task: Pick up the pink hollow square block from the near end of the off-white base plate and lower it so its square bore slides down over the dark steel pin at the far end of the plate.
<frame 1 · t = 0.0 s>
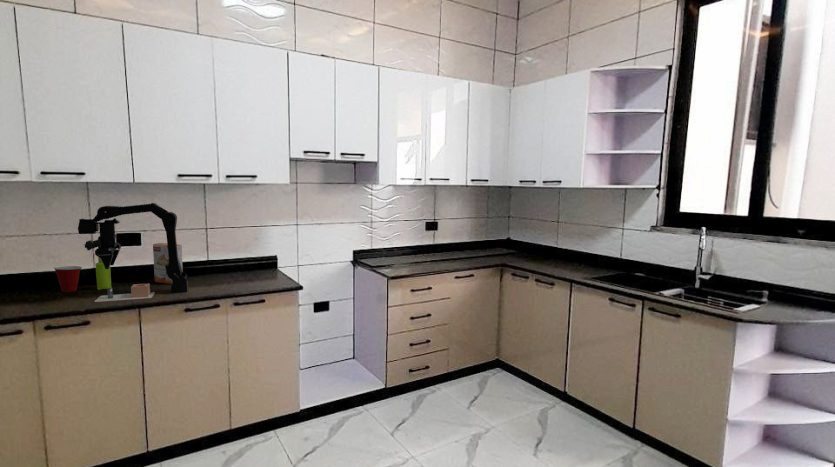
hand: (109, 267, 202), 15 cm above the counter, tool pointing down, fingers open, 9 cm apart
base plate: (126, 298, 204), on the counter
cracker box: (168, 282, 237), on the counter
soap dispenser: (104, 288, 221), on the counter
steel pin: (110, 299, 201), resting on base plate
plastic cup: (69, 291, 216), on the counter
pink hollow square block: (141, 295, 206), point 1 cm above the counter, touching base plate
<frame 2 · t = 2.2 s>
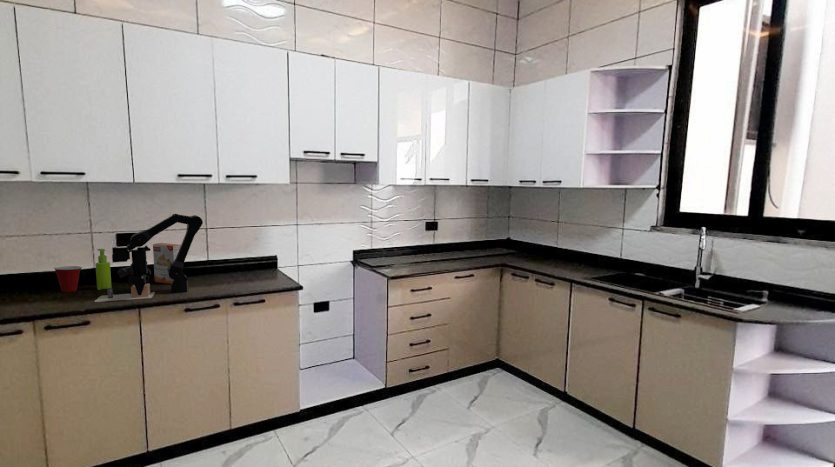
hand: (141, 293, 206), 2 cm above the counter, tool pointing down, fingers closed on pink hollow square block, 6 cm apart
pink hollow square block: (141, 295, 206), point 1 cm above the counter, touching base plate, gripper
everything else where it was.
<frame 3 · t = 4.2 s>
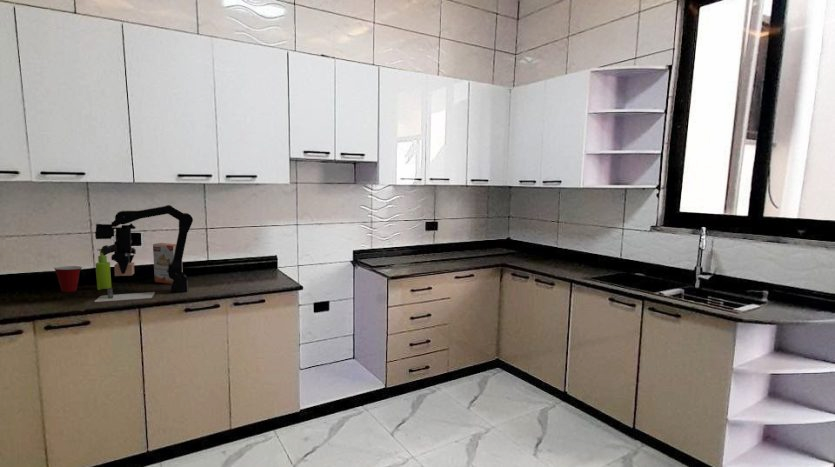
hand: (124, 272, 202), 13 cm above the counter, tool pointing down, fingers closed on pink hollow square block, 6 cm apart
pink hollow square block: (124, 274, 202), point 12 cm above the counter, touching gripper
everything else where it was.
when the fingers open (3 cm above the counter, at t = 6.4 s): pink hollow square block drops 1 cm, resting on base plate.
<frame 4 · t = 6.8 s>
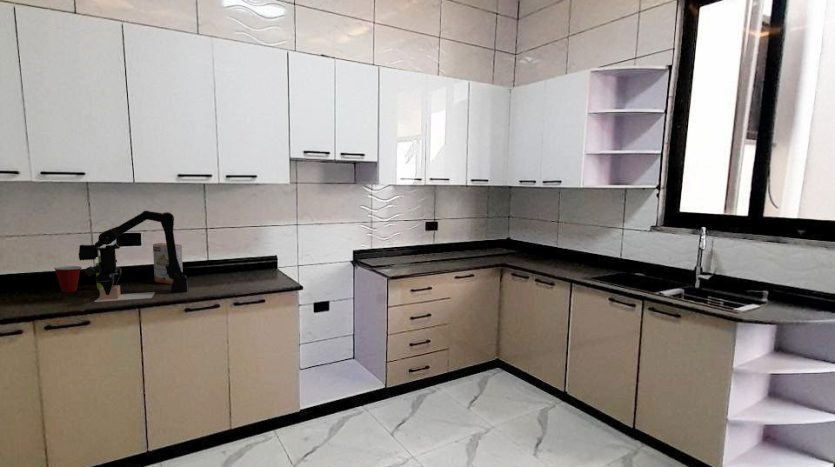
hand: (110, 292, 201), 3 cm above the counter, tool pointing down, fingers open, 9 cm apart
pink hollow square block: (110, 297, 201), point 1 cm above the counter, touching base plate
everything else where it was.
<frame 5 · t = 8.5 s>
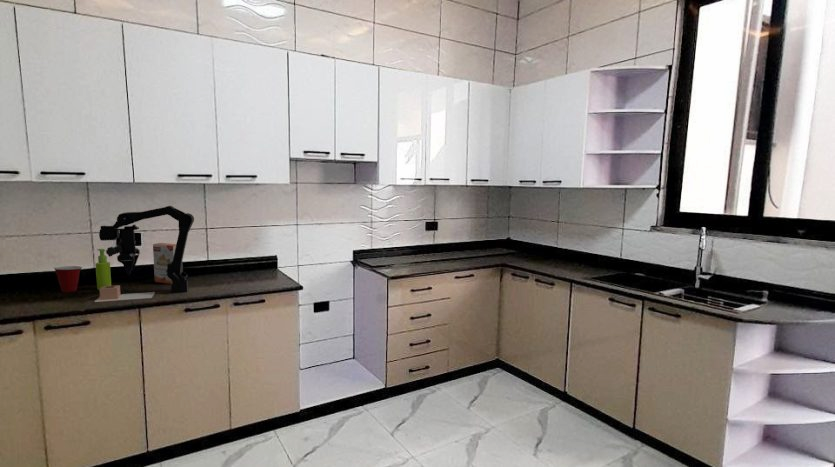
hand: (130, 272, 207), 11 cm above the counter, tool pointing down, fingers open, 9 cm apart
nothing on the counter moved.
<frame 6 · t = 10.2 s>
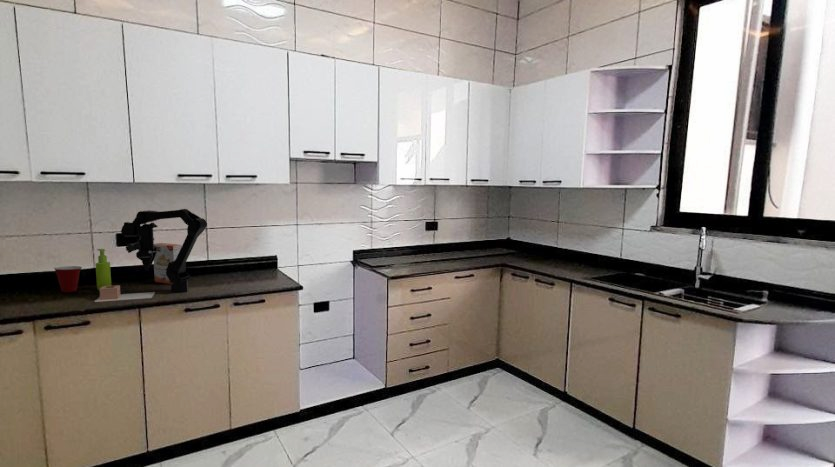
hand: (148, 268, 214), 12 cm above the counter, tool pointing down, fingers open, 9 cm apart
nothing on the counter moved.
at the end: pink hollow square block 0.0 cm off-centre on the steel pin, point 1.0 cm above the steel pin's base; pink hollow square block tilted 0°; the gripper is holding nothing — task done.
